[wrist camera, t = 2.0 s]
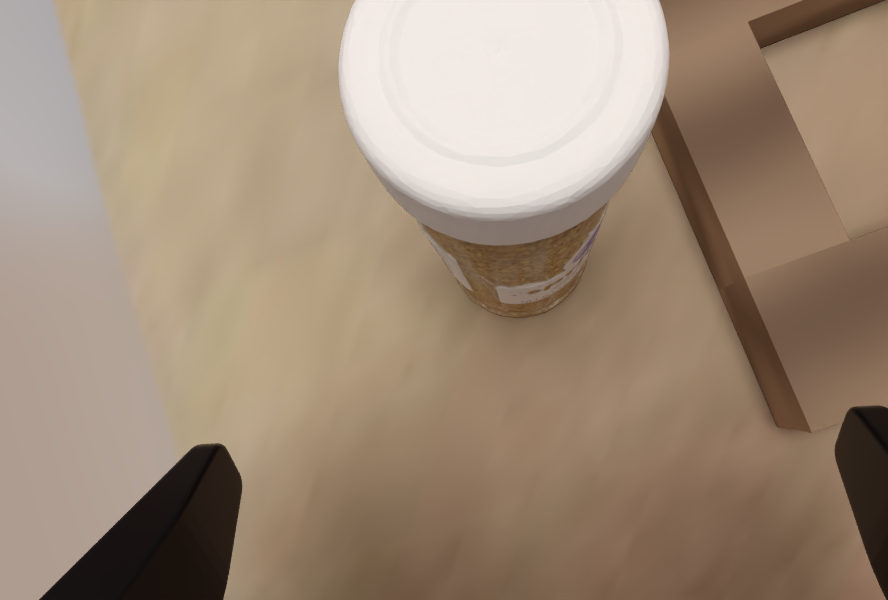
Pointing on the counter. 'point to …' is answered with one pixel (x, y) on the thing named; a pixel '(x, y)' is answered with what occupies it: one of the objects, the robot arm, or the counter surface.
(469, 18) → the sprinkles bottle
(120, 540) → the robot arm
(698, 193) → the brown wooden tray
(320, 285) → the counter surface
